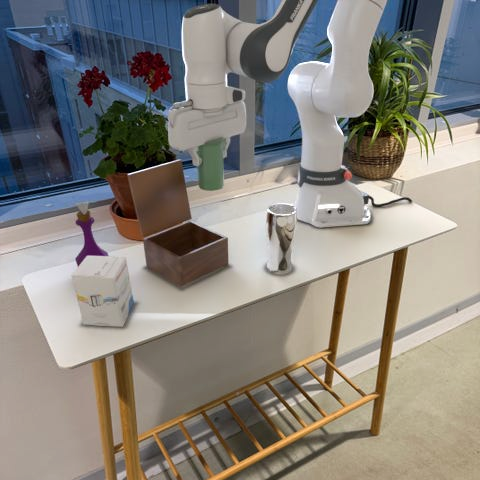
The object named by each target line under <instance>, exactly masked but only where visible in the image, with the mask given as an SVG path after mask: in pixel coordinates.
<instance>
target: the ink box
mask: <svg viewBox="0 0 480 480" xmlns="http://www.w3.org/2000/svg"><path fill="white" fill-rule="evenodd" d="M71 279H72V282H73V287H74V291H75V295H76V299H77V304H78V307H79V308H78V309H79V312H80V316H81V317H80V318H81V319H82V324H83V326H97V327H117V328H122V327H124V326H125V323H126V320H127V319H128V318H129V317H128V316H129V315H130V310H131V307H132V306H133V304H134V302H135V301H134V296H133V291H132V285H131V280H130V274H129V267H128V261H127V257H126V256H113V255H109V256H89V255H88V256H86V258H85V259H84V260H83V261H82V263H81V264H80V265H79V266H77V267H76V269H75V270H74V271H73V272H72V274H71Z"/></svg>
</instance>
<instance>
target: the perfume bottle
mask: <svg viewBox="0 0 480 480" xmlns="http://www.w3.org/2000/svg"><path fill="white" fill-rule="evenodd" d="M89 203H90V202H89V201H81V202H77V203H75V206H76V207H77V208H78V209H79V211H78V212H77V213H76V217H77V219H76V220H75V225H76V226H78V227H80V229H81V231H82V233H83V239H84V240H83V247H82V249H81V250H80V252H79V253H78V254H77V255H76V257H75V258H74V259H75V263H76V266H77V267H78V266H79V265H80V264H81V263H82V261H83V260H84V259H85V258H86V256H88V255H89V256H110V255H109V254H108V252H107V251H106V250H104V249H103V248H101V247H100V246H99V245H98V244H97V242H96V239H95V237H94V234H93V231H92V230H93V229H92V225H93V224H94V223H95V218H94V217H92V216H91V211H90V209H89V210H88V208H89Z"/></svg>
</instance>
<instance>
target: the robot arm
mask: <svg viewBox="0 0 480 480" xmlns="http://www.w3.org/2000/svg"><path fill="white" fill-rule="evenodd" d="M318 1H319V0H281V2H280V4H279V5H278V7H277V9H276V11H275V13H274V15H273V16H272V17H271V18H270V19H268V20H266V22H262V23H250V22H247V21H242V20H240V19H238V18H237V17H234V16H233V15H231V14H229V13H227V12H226V11H225V10H223V8H222V7H221V5H220V4H217V3H206V4H199V5H196V6H193V7H191V8H189V9H188V10H186V12H185V13H184V15H183V17H182V23H181V51H182V59H183V63H184V66H185V75H184V88H185V90H184V91H185V99H186V100H183V101H180V102H175V103H173V104H172V106H171V107H170V108H169V110H168V112H167V117H168V123H167V124H168V126H167V127H168V128H167V129H168V130H167V135H168V137H167V139H168V145H169V146H170V147H171V149H172V150H175V151H179V152H184V151H187V153H188V155H190V157H191V158H192V165H193V166H195V167H197V166H200V165H202V164H203V162H202V157H199V156H198V154H197V152H196V151H198V146H201V145H204V144H205V142H208V141H212V140H215V139H218V138H222V137H224V142H223V159H225V158H227V157H228V149H229V147H230V144H231V137H234V136H237V135H241V134H243V133H245V130H246V128H247V106H246V104H245V102H244V101H245V99H246V91H245V90H244V89H242V88H237V87H233V86H231V85H228V74H229V73H233V74H236V75H238V76H242V77H246V78H250V79H252V80H254V81H256V82H259V83H261V84H270V83H273V82H275V81H277V80H278V79H279V78H280V77H281V76H282V75H283V74H284V72H285V71H286V69H287V67H288V65H289V63H290V60H291V57H292V55H293V51H294V47H295V46H296V43H297V41H298V39H299V37H300V35H301V33H302V31H303V29H304V28H305V26H306V24H307V22H308V20H309V18H310V16H311V14H312V13H313V10H314V9H315V7H316V5H317V3H318ZM387 2H388V0H337V2H336V4H335V7H334V9H333V12H332V15H331V18H330V21H329V23H328V25H327V31H326V33H327V34H326V35H327V37H328V41H330V43H331V46H332V48H331V49H332V51H331V57H330V61H329V63H326V62H321V61H315V60H314V61H306V62H301V63H299V64H297V65H296V66H294V67H293V69H292V70H291V72H290V74H289V76H288V79H287V92H288V96H289V97H290V98H291V100H292V101H293V103H294V105H295V107H296V111H297V115H298V119H299V123H300V128H301V157H300V158H301V160H300V164H299V166H298V171H297V185H298V186H297V193H296V198H295V202H294V205H293V206H294V207H296V208H297V221H301V222H304V223H307V224H310V225H312V226H313V227H316V228H334V227H345V226H358V225H359V226H360V225H368V224H369V223H370V222H371V219H372V214H371V210H369V208H368V206H366V205H368V204H369V201H370V203H371V206H373V207H375V208H381V207H386V206H389V205H392V204H394V203H398V202H401V201H408V202H409V203H413V200H412V198H410V197H408V196H404V197H400V198H397V199H392V200H390V201H388V202H383V203H375V199H374V198H373V196H371V195H370V194H368V193H366V192H364V191H362V190H361V189H359V188H358V187H356V186H355V185H354V184H353V183H352V182H351V181H350V180H351V179H352V178H353V174H352V172H351V171H350V170H349V169H348V168H347V167H346V166H345V164H343V157H344V147H345V135H344V133H343V131H342V130H341V128H340V127H339V125H338V122H337V119H336V117H338V118H358V117H360V116H362V115H364V113H366V111H367V110H368V109H369V107H370V106H371V104H372V101H373V98H374V84H373V80H372V79H371V76H370V73H369V55H370V49H371V45H372V42H373V40H374V37H375V33H376V31H377V28H378V25H379V23H380V21H381V18H382V15H383V13H384V10H385V8H386V5H387Z"/></svg>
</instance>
